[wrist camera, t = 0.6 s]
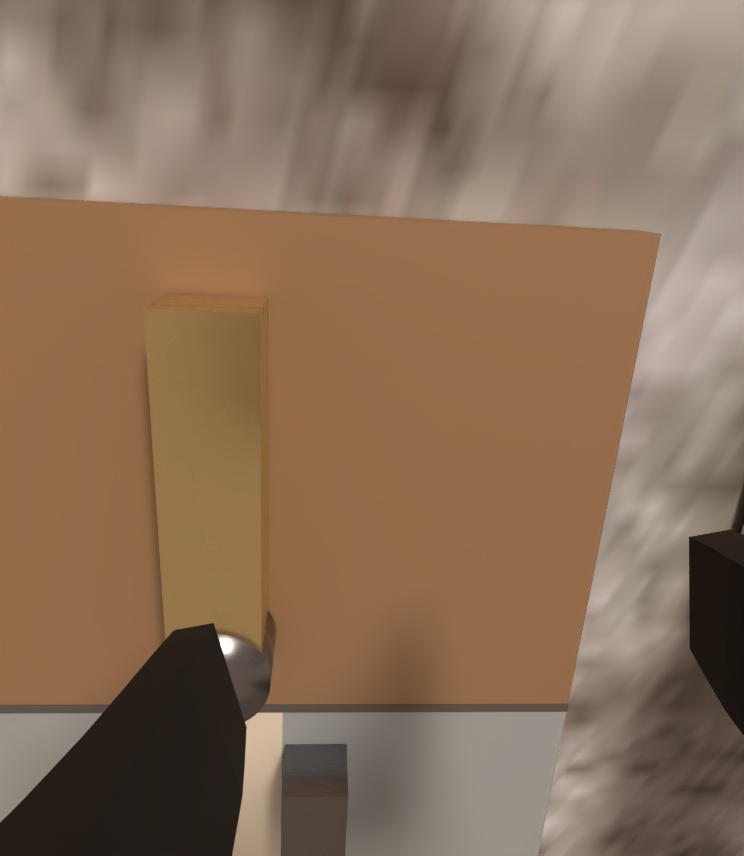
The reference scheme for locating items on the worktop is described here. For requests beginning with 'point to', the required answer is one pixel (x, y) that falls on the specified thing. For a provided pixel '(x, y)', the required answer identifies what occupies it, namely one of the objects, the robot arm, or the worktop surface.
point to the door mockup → (327, 494)
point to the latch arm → (214, 475)
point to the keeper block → (314, 800)
